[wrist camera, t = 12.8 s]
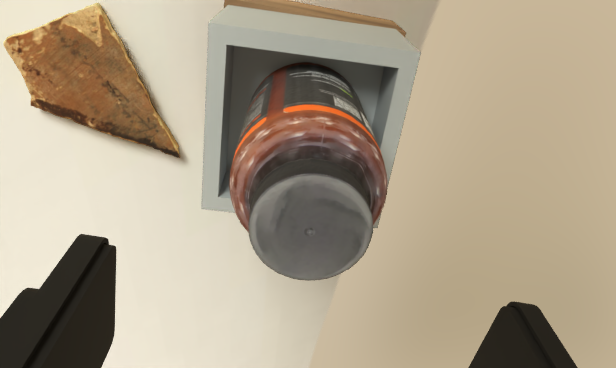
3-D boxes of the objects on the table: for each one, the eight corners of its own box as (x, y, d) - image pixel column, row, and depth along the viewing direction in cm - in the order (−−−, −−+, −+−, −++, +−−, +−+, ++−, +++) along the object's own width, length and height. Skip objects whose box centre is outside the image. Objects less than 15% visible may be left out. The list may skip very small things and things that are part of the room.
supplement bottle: (250, 166, 26) (218, 305, 16) (247, 58, 23) (204, 142, 13) (357, 167, 26) (392, 306, 16) (366, 60, 23) (415, 145, 13)
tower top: (228, 4, 25) (208, 22, 19) (395, 28, 26) (420, 52, 20) (219, 159, 29) (201, 209, 24) (363, 176, 30) (377, 228, 24)
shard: (185, 149, 34) (179, 159, 32) (92, 180, 35) (82, 192, 33) (107, -2, 29) (96, 1, 27) (2, 39, 30) (-15, 45, 28)
